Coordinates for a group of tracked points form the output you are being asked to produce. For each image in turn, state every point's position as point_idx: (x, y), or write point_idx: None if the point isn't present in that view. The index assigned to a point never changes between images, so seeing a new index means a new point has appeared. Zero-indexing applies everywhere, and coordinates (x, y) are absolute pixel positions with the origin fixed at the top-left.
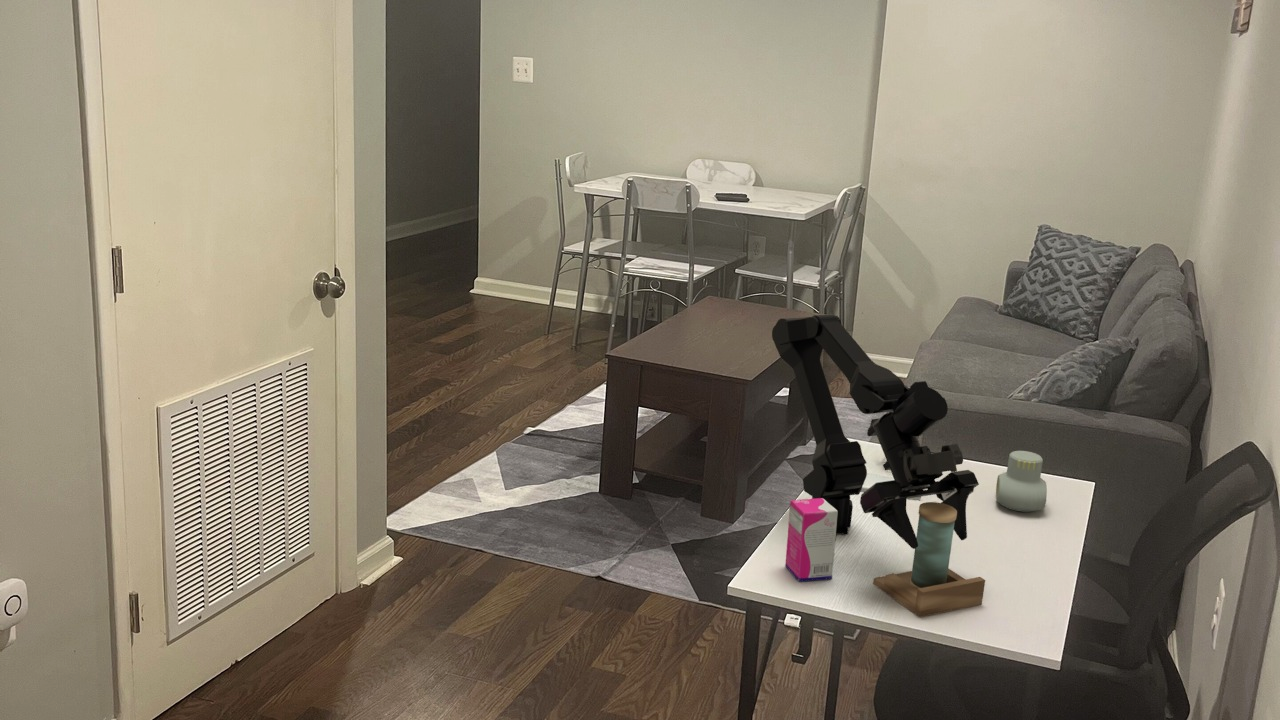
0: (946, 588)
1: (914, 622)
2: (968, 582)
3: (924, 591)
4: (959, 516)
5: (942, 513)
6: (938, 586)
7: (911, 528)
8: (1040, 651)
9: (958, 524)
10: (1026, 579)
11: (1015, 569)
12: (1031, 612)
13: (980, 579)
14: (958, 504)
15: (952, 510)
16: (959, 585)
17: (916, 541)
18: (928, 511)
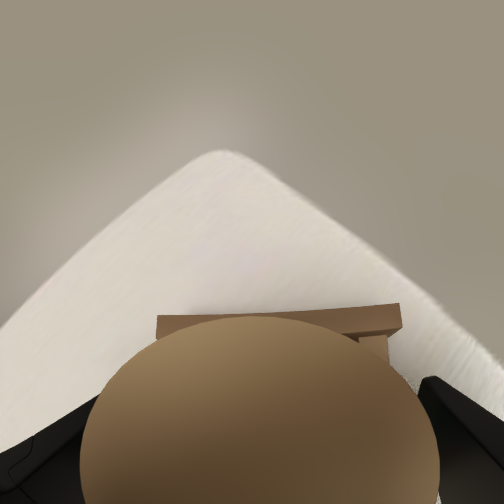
0: (309, 311)
1: (402, 305)
2: (216, 318)
3: (391, 306)
4: (65, 452)
5: (277, 404)
6: (330, 324)
7: (476, 425)
8: (220, 156)
9: None
10: (29, 375)
11: (19, 414)
12: (116, 267)
13: (167, 322)
14: (15, 485)
15: (125, 422)
16: (257, 313)
17: (436, 387)
18: (392, 476)
